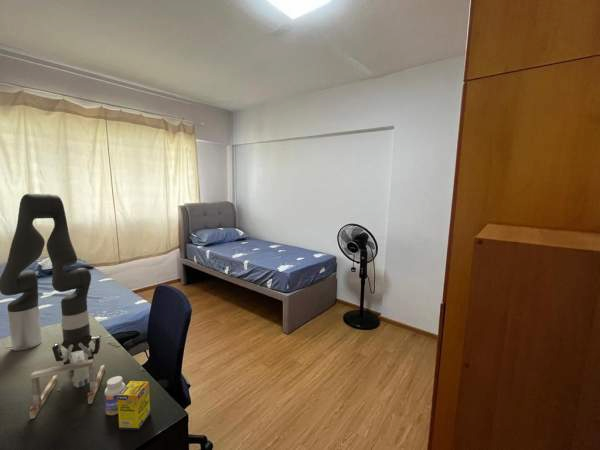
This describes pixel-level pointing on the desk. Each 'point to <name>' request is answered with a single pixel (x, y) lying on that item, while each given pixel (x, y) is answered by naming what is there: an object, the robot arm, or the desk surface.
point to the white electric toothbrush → (79, 370)
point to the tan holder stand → (41, 398)
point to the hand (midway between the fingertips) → (79, 367)
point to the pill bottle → (113, 394)
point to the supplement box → (133, 405)
